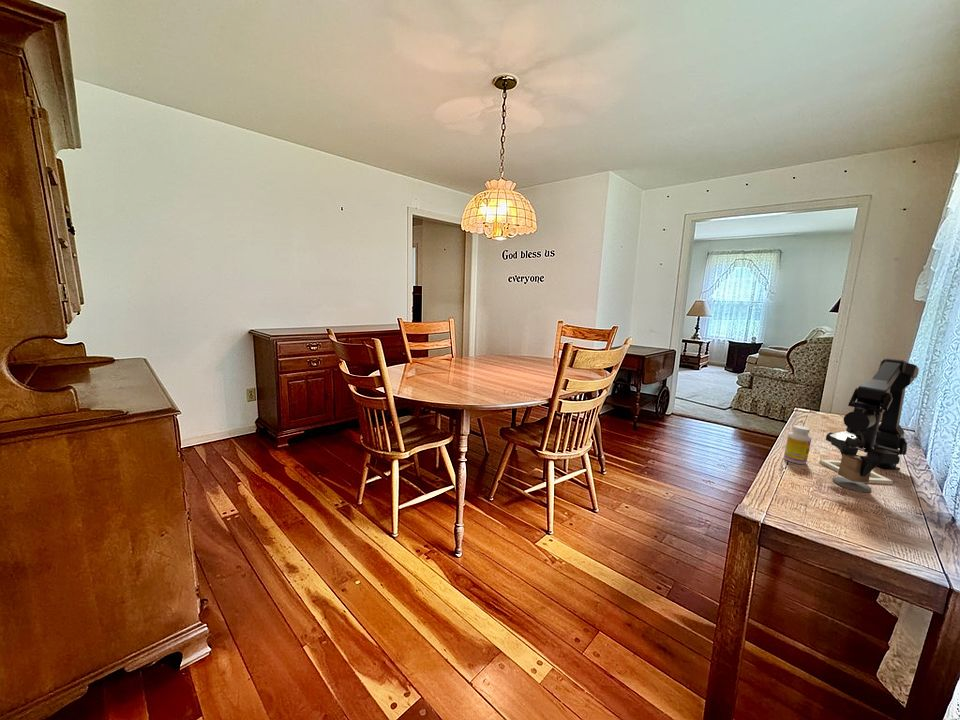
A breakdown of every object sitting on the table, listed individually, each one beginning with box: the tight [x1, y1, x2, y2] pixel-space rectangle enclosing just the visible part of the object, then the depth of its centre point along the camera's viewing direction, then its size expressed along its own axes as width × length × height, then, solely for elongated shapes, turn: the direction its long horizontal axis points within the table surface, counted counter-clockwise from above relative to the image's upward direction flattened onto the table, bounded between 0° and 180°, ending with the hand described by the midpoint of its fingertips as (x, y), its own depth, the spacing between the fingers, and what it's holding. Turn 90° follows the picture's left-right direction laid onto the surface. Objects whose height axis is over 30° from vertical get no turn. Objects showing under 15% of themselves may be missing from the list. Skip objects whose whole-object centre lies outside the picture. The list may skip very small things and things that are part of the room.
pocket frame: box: [819, 459, 893, 485], centre depth 133 cm, size 11×15×1 cm
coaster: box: [832, 476, 872, 493], centre depth 124 cm, size 9×9×1 cm
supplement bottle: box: [783, 424, 812, 465], centre depth 140 cm, size 7×7×13 cm
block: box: [837, 454, 871, 482], centre depth 123 cm, size 5×5×7 cm
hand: (854, 472), depth 123 cm, fingers closed on block, 5 cm apart
